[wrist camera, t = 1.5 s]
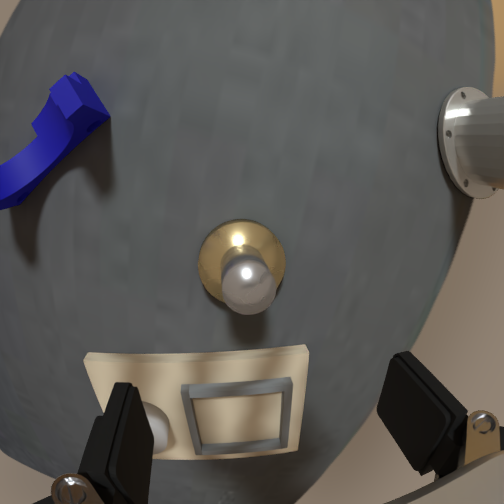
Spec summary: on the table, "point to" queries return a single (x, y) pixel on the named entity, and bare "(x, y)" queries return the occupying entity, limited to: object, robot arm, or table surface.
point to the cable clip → (52, 137)
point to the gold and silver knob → (242, 265)
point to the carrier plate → (213, 399)
